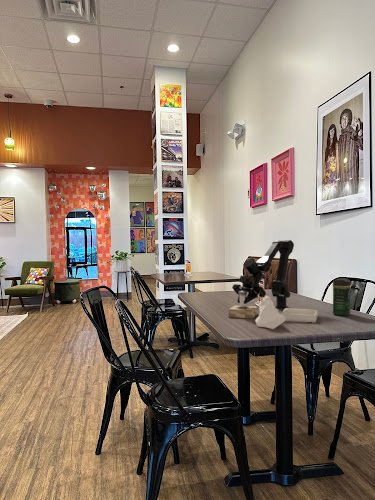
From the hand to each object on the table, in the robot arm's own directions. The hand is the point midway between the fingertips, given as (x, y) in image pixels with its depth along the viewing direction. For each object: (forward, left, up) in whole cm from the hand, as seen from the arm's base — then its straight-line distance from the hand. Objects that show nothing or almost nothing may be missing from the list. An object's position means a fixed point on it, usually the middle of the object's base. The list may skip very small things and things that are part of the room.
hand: (241, 303), depth 189 cm
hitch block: (-1, +1, -7) cm, 7 cm away
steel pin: (-1, +1, -7) cm, 7 cm away
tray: (-1, +29, -7) cm, 29 cm away
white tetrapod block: (+19, +18, -7) cm, 27 cm away
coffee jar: (-19, +48, -7) cm, 52 cm away
